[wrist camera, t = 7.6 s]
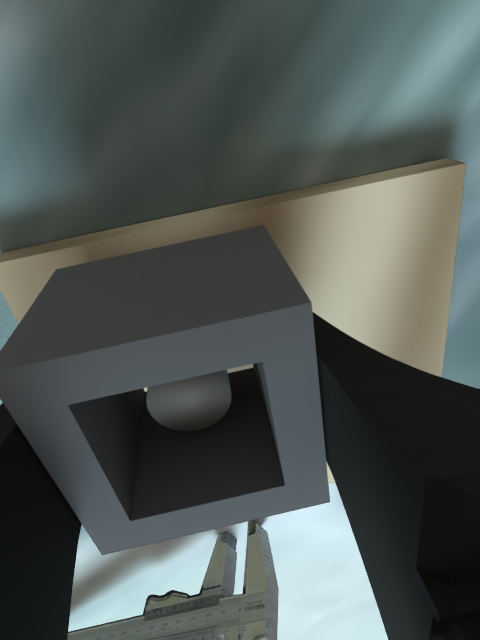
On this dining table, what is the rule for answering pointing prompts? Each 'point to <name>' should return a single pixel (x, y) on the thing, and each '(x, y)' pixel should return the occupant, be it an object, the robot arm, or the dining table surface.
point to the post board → (304, 267)
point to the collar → (163, 367)
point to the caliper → (209, 602)
